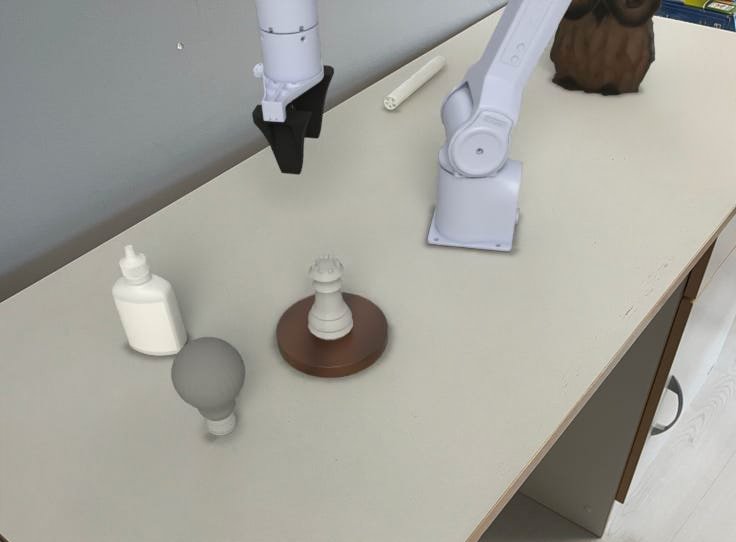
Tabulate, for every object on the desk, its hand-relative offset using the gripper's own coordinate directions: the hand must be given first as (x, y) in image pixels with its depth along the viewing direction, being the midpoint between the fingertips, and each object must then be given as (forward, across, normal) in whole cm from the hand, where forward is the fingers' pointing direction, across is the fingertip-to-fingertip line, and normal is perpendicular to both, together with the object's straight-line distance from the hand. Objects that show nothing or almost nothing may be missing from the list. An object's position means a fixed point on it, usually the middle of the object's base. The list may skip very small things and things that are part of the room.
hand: (301, 153), depth 77 cm
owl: (+11, -47, +34) cm, 59 cm away
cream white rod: (+11, -41, +7) cm, 43 cm away
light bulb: (+11, +30, 0) cm, 32 cm away
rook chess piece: (+9, +17, +7) cm, 20 cm away
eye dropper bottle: (+11, +21, -10) cm, 26 cm away
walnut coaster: (+10, +17, +7) cm, 21 cm away
